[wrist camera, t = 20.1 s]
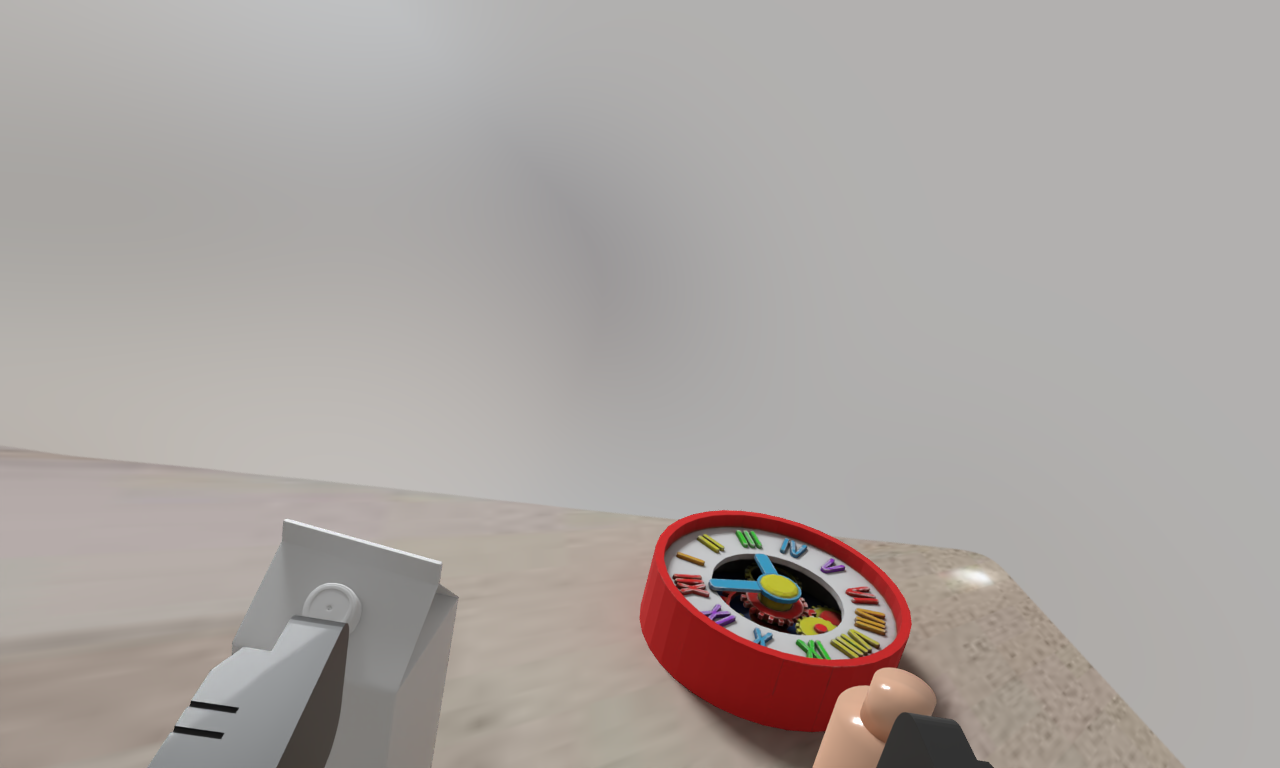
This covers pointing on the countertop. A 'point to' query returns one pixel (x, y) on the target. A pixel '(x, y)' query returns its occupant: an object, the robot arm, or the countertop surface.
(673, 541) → the toy clock
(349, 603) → the milk carton
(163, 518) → the countertop surface
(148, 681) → the countertop surface
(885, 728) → the peach bottle
